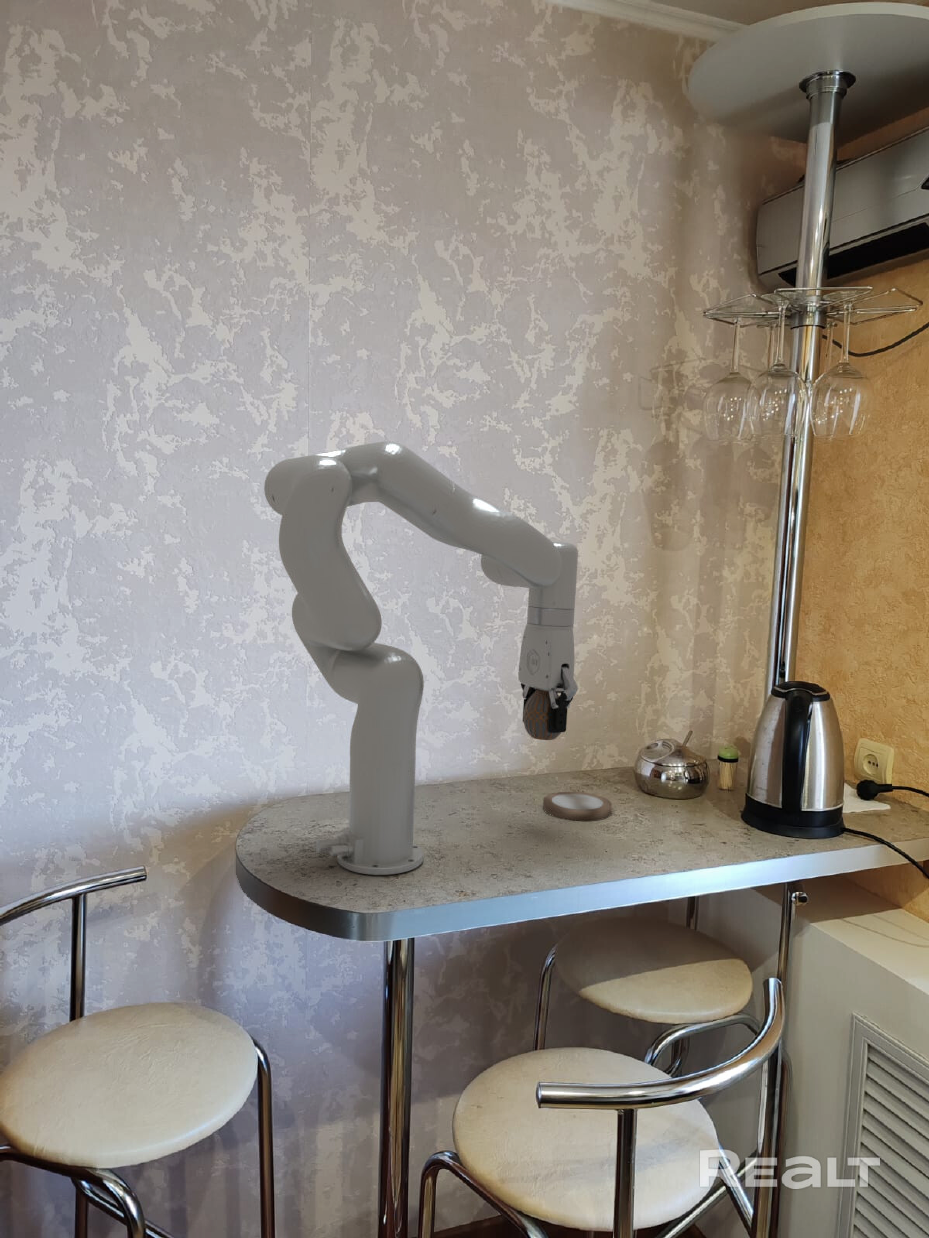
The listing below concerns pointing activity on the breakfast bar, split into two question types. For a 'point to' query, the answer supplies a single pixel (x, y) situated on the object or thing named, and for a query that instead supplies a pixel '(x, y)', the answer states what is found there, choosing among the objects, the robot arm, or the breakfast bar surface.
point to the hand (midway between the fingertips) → (543, 726)
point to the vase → (538, 716)
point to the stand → (577, 806)
